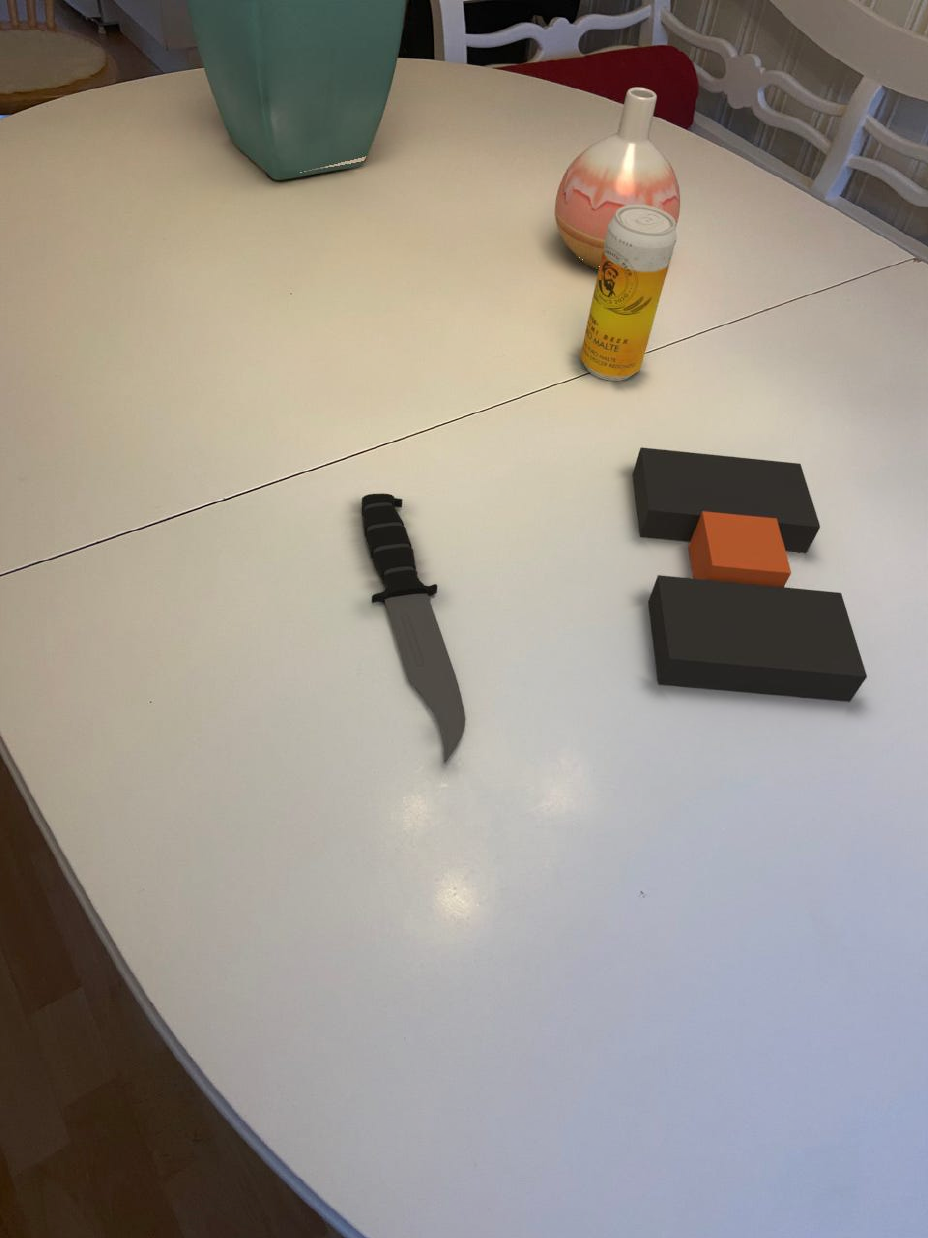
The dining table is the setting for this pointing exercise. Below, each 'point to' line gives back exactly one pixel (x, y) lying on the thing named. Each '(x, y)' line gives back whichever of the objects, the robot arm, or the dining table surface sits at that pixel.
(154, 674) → the dining table surface
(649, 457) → the pads
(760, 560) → the link piece
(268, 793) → the dining table surface
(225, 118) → the flower pot
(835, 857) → the dining table surface
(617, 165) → the vase
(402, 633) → the knife
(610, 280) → the beer can
